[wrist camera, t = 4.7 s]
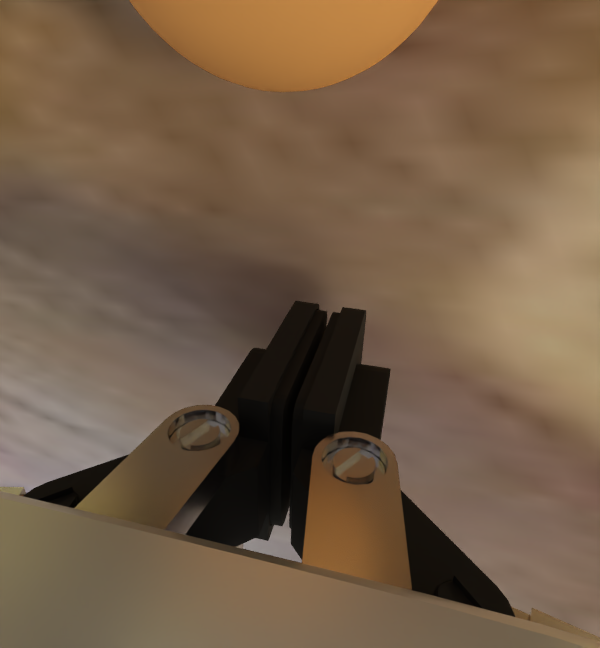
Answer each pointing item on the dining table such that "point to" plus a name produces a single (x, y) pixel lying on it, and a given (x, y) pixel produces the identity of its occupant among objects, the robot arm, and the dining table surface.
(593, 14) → the dining table surface
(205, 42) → the ball
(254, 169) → the dining table surface
